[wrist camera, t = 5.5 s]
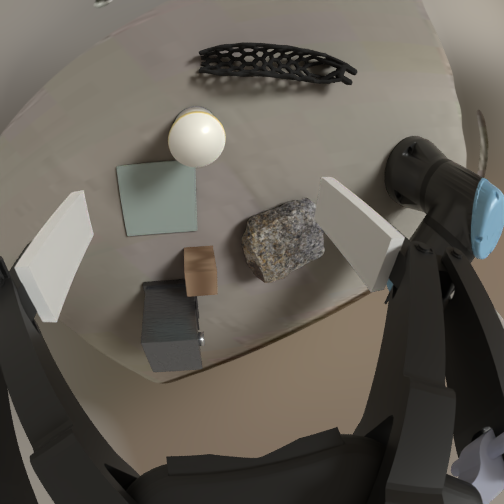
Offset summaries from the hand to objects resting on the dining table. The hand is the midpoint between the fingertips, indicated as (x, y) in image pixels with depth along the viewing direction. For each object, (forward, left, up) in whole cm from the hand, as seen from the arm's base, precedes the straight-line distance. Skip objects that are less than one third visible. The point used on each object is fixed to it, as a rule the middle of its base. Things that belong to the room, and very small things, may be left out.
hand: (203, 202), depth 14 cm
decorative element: (-11, -10, -27) cm, 31 cm away
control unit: (+6, +32, -27) cm, 42 cm away
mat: (+6, +11, -27) cm, 29 cm away
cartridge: (0, 0, -27) cm, 27 cm away
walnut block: (0, +23, -27) cm, 35 cm away
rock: (-15, +19, -27) cm, 36 cm away
